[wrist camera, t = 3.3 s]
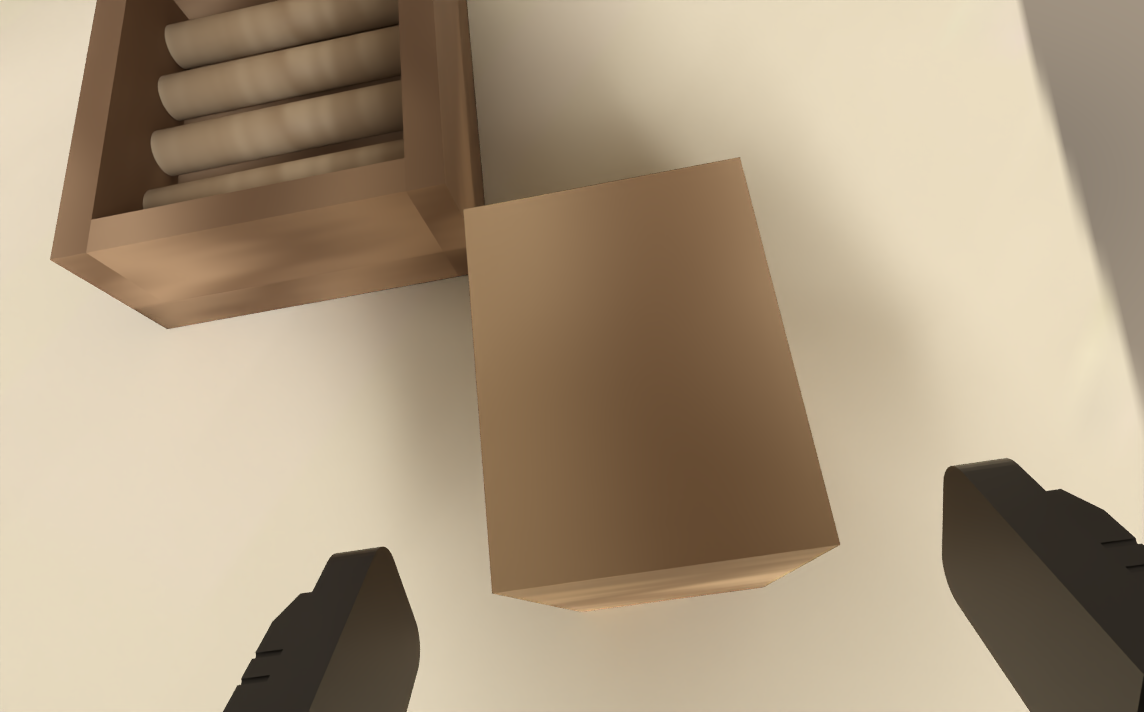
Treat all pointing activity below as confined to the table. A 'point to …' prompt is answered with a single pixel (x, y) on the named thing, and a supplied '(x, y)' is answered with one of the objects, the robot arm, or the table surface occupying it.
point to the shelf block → (638, 395)
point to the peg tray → (269, 153)
